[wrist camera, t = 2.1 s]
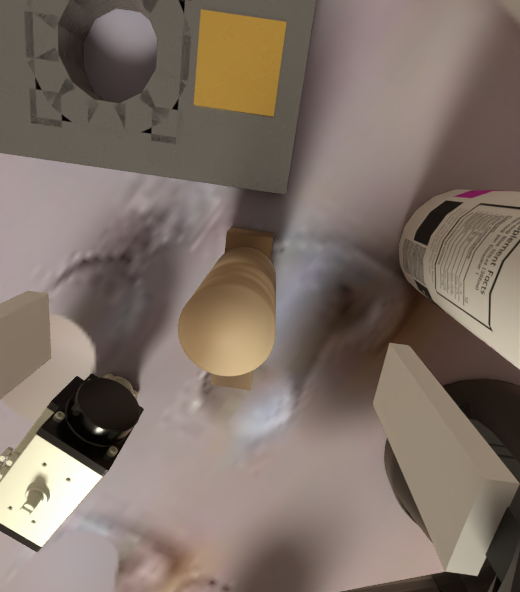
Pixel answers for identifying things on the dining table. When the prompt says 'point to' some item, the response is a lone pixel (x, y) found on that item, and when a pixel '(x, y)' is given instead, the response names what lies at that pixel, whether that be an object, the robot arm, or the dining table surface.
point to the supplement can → (469, 262)
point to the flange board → (161, 89)
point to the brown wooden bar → (264, 244)
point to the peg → (232, 314)
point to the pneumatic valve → (64, 456)
